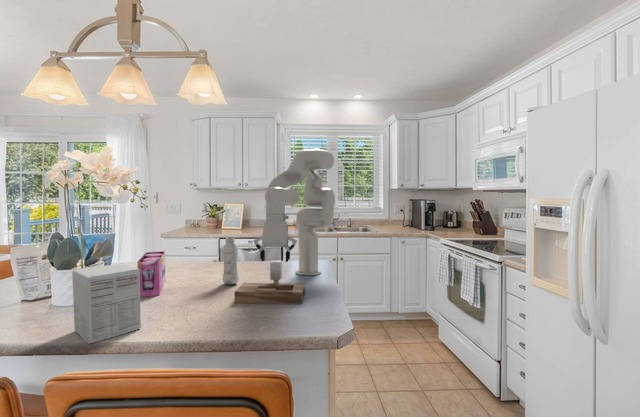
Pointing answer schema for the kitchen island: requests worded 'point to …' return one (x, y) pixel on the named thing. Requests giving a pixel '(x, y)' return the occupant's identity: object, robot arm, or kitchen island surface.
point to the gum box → (152, 273)
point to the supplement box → (106, 301)
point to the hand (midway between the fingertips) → (275, 261)
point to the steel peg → (276, 270)
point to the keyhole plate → (270, 293)
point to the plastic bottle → (230, 262)
